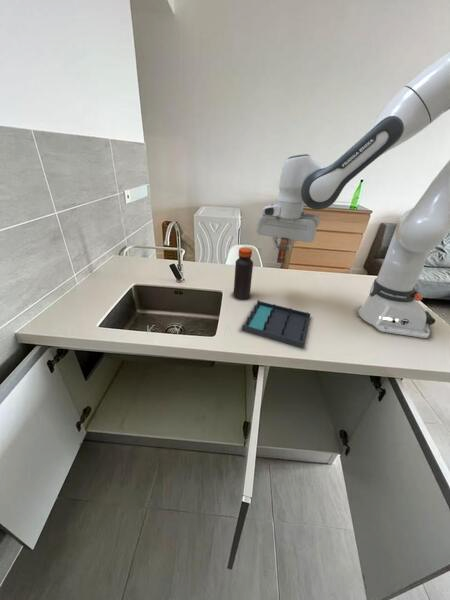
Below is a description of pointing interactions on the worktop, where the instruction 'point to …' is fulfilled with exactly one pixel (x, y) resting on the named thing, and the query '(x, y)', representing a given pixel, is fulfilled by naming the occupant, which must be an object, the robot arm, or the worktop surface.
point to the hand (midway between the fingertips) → (282, 250)
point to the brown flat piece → (282, 250)
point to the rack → (278, 323)
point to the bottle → (243, 274)
